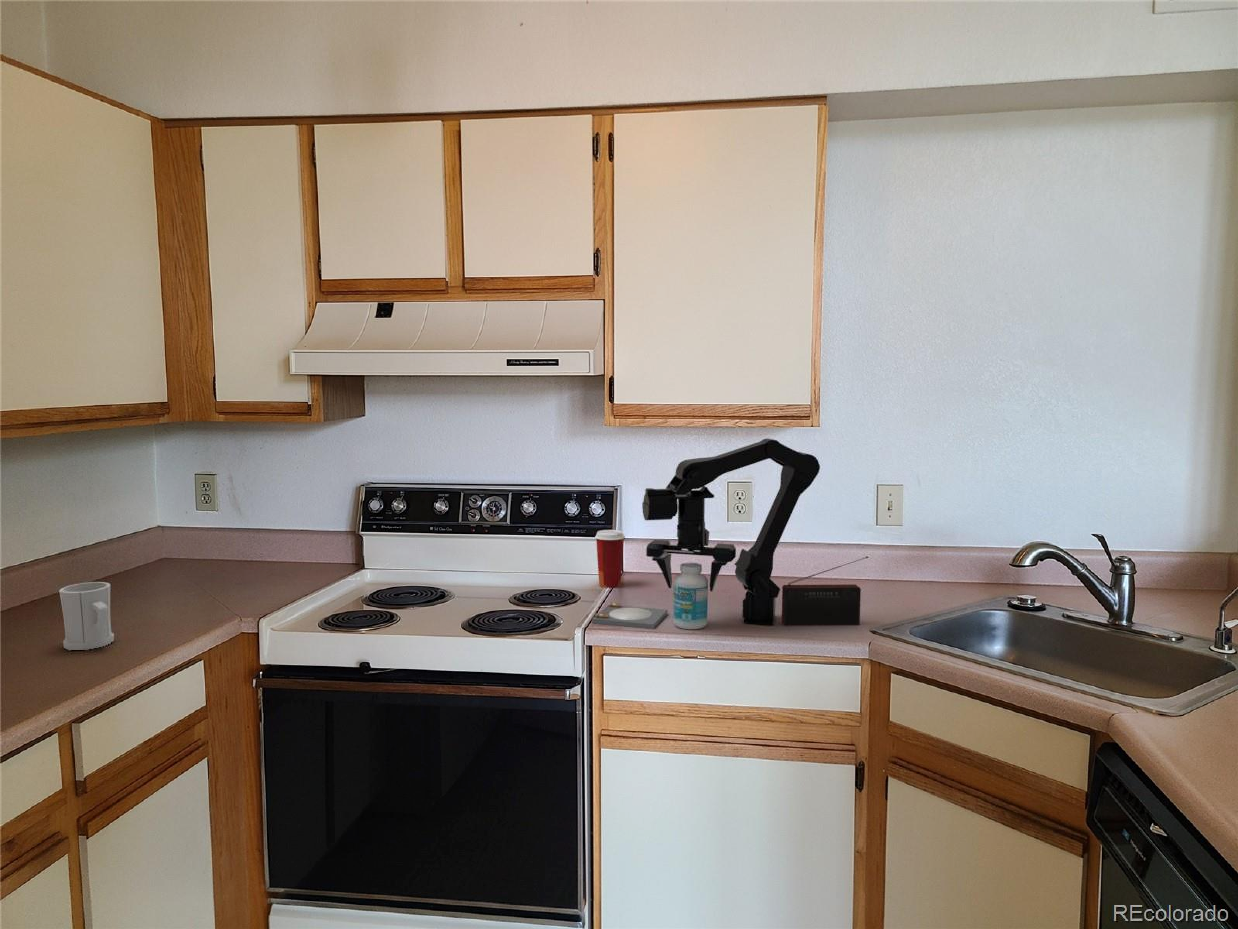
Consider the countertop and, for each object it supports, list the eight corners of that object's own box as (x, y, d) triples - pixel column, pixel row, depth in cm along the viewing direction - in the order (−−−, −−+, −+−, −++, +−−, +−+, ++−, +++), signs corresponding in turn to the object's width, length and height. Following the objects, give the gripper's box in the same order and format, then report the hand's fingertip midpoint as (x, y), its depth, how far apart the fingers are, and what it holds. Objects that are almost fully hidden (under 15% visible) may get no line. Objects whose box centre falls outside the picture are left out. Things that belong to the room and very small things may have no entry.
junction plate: (667, 613, 196) (667, 606, 196) (653, 628, 185) (653, 620, 185) (609, 608, 200) (609, 601, 200) (592, 623, 189) (592, 615, 189)
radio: (784, 626, 187) (786, 559, 185) (781, 622, 190) (783, 556, 188) (869, 626, 187) (871, 558, 185) (865, 622, 190) (867, 555, 188)
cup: (131, 637, 179) (127, 581, 178) (106, 651, 170) (102, 592, 169) (80, 638, 179) (75, 581, 178) (52, 652, 170) (48, 593, 169)
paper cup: (630, 584, 223) (630, 531, 222) (613, 590, 217) (613, 536, 216) (605, 580, 228) (605, 528, 226) (588, 586, 221) (588, 532, 220)
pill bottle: (666, 624, 188) (666, 564, 186) (690, 618, 193) (690, 559, 191) (690, 632, 182) (690, 570, 181) (714, 626, 187) (715, 565, 185)
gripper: (740, 514, 190) (739, 583, 191) (659, 510, 195) (659, 577, 197) (731, 523, 179) (730, 596, 181) (645, 518, 185) (645, 589, 186)
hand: (690, 589), depth 187 cm, fingers open, 9 cm apart
